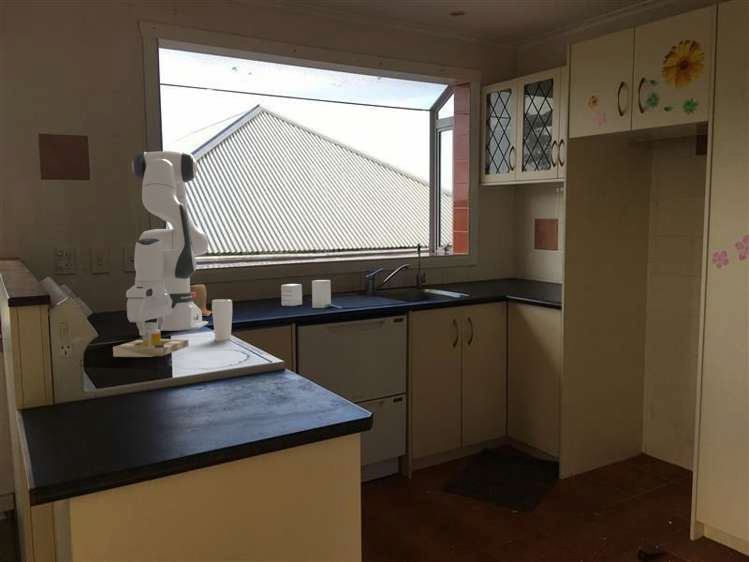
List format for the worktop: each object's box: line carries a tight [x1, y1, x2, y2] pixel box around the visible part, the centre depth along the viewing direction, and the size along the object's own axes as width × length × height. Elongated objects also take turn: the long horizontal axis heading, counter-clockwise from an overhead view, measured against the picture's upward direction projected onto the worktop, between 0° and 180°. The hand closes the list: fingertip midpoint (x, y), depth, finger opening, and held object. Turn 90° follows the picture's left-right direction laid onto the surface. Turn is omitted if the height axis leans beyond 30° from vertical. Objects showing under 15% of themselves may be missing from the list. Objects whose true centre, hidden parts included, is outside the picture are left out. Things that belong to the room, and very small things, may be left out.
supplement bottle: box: [143, 321, 162, 346], centre depth 205 cm, size 5×5×10 cm
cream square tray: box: [112, 335, 189, 358], centre depth 205 cm, size 17×17×4 cm
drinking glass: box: [211, 298, 233, 342], centre depth 221 cm, size 7×7×15 cm
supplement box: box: [280, 283, 303, 307], centre depth 314 cm, size 7×7×13 cm
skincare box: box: [311, 279, 332, 309], centre depth 301 cm, size 8×7×16 cm
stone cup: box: [190, 284, 212, 317], centre depth 289 cm, size 15×12×15 cm
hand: (151, 333), depth 204 cm, fingers open, 8 cm apart
